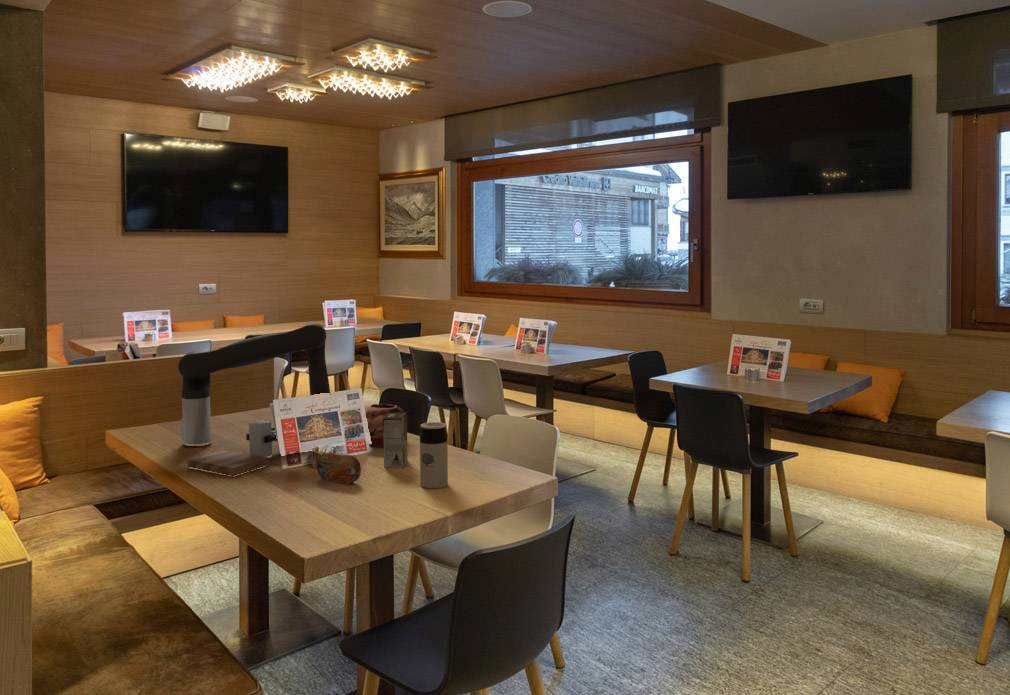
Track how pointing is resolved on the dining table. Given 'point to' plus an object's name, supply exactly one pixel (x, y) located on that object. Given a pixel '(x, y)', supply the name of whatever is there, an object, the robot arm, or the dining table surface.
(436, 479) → the travel mug
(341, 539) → the dining table surface
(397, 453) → the coffee box
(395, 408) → the decorative planter
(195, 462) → the walnut plinth
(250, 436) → the slate block
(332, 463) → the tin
